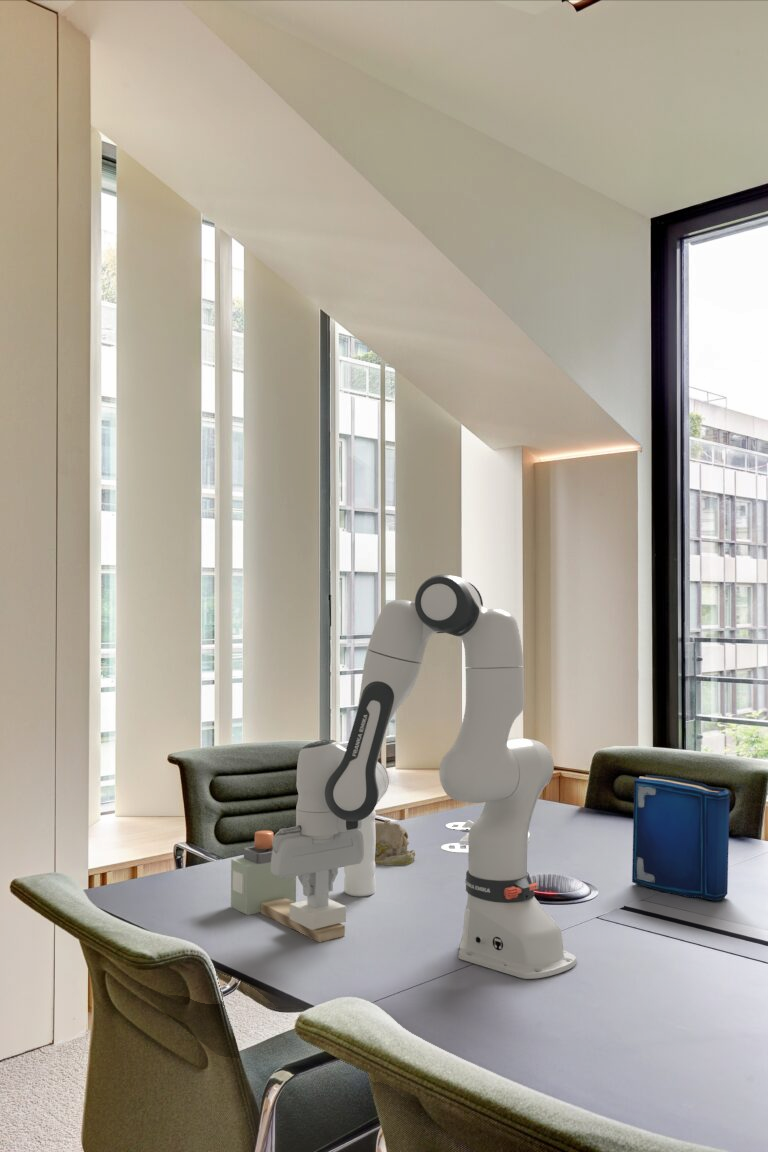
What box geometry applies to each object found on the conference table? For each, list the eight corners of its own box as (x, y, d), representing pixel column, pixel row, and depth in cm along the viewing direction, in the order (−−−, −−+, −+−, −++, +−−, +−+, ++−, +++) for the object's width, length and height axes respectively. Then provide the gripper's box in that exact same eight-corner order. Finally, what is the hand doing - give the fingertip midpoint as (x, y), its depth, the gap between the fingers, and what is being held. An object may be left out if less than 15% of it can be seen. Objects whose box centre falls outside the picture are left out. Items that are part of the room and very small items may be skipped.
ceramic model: (354, 862, 238) (354, 822, 239) (368, 851, 249) (368, 813, 249) (407, 867, 234) (408, 827, 234) (420, 856, 245) (420, 817, 245)
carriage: (345, 921, 186) (346, 870, 186) (311, 929, 181) (312, 877, 181) (323, 911, 192) (323, 861, 193) (289, 919, 187) (290, 868, 188)
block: (344, 935, 184) (344, 925, 185) (318, 942, 181) (319, 931, 181) (285, 907, 202) (285, 897, 202) (260, 912, 198) (260, 903, 198)
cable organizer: (446, 823, 283) (446, 812, 283) (527, 826, 281) (527, 814, 281) (440, 854, 249) (440, 841, 249) (532, 857, 246) (532, 844, 246)
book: (734, 898, 210) (733, 785, 211) (721, 905, 205) (720, 789, 206) (644, 879, 225) (644, 773, 225) (630, 885, 219) (629, 777, 220)
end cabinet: (295, 904, 204) (296, 848, 205) (245, 915, 197) (245, 857, 197) (279, 896, 210) (279, 841, 210) (229, 906, 202) (229, 850, 203)
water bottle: (371, 898, 209) (372, 784, 209) (340, 896, 210) (341, 783, 211) (378, 889, 215) (378, 778, 216) (348, 887, 217) (348, 777, 218)
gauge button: (276, 847, 203) (276, 833, 203) (260, 850, 201) (260, 835, 201) (267, 843, 206) (267, 829, 207) (251, 846, 204) (251, 832, 204)
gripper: (281, 833, 179) (281, 907, 178) (368, 818, 191) (368, 888, 191) (264, 827, 184) (264, 899, 183) (350, 813, 196) (350, 880, 196)
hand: (317, 893), depth 187 cm, fingers closed on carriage, 3 cm apart
